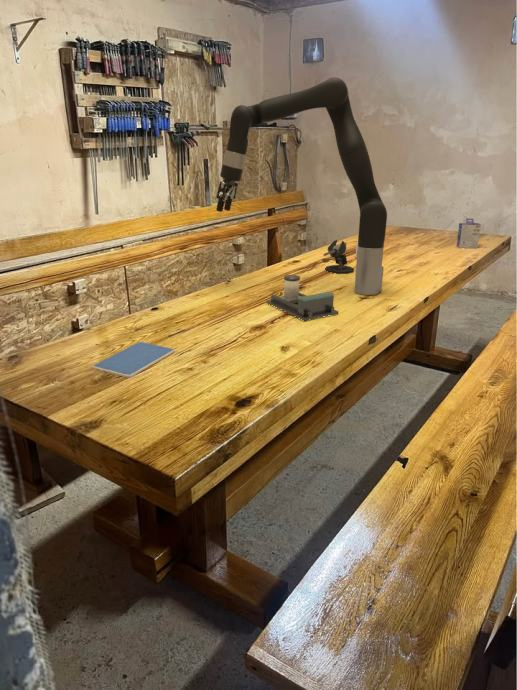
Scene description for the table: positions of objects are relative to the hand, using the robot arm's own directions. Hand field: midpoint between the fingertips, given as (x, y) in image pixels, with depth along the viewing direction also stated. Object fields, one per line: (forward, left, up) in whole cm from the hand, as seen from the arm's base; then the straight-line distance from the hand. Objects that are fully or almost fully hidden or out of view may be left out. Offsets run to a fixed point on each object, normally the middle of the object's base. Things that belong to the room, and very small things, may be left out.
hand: (223, 210), depth 198 cm
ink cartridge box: (-145, -2, -29) cm, 148 cm away
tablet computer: (+54, +52, -29) cm, 80 cm away
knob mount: (-9, +39, -28) cm, 49 cm away
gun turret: (-52, +5, -29) cm, 59 cm away
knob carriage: (-9, +33, -27) cm, 43 cm away
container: (-82, -10, -29) cm, 87 cm away
